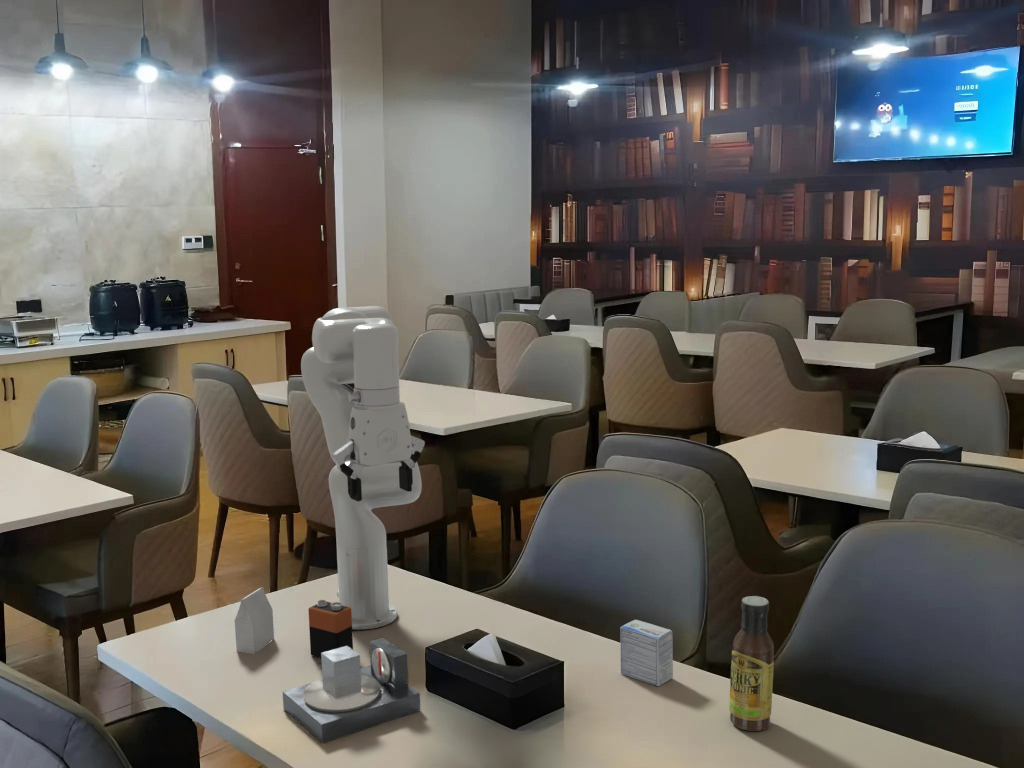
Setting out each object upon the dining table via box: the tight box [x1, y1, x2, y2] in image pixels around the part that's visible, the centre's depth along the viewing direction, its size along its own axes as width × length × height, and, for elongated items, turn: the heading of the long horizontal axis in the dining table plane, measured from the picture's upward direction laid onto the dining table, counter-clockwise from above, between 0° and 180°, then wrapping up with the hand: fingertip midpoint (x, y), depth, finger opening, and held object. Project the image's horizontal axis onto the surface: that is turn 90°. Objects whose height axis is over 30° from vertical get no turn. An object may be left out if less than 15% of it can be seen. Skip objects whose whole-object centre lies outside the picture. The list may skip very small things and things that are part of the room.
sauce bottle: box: [729, 595, 775, 732], centre depth 160 cm, size 6×6×20 cm
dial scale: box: [282, 637, 421, 744], centre depth 168 cm, size 14×17×9 cm
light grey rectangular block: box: [320, 646, 362, 699], centre depth 167 cm, size 4×4×6 cm
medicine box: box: [619, 619, 674, 687], centre depth 178 cm, size 8×4×9 cm, turn 47°
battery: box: [308, 599, 354, 659], centre depth 189 cm, size 4×7×10 cm, turn 58°
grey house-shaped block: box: [234, 587, 275, 654], centre depth 194 cm, size 4×7×10 cm, turn 161°
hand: (381, 494), depth 182 cm, fingers open, 9 cm apart
